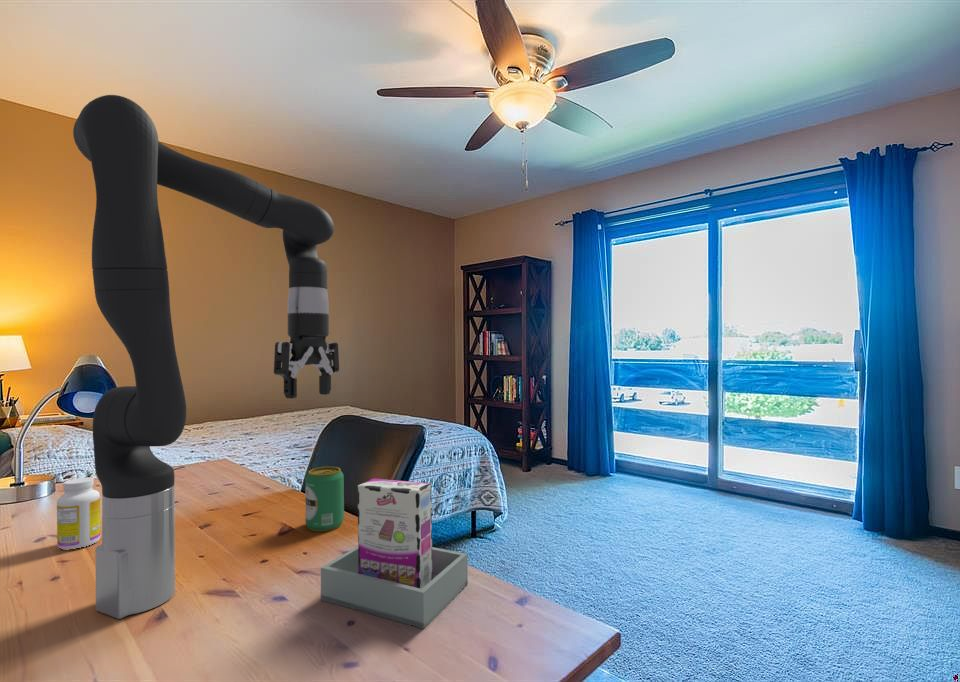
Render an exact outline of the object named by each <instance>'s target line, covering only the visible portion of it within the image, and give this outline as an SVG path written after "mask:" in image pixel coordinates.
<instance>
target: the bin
mask: <svg viewBox="0 0 960 682" xmlns="http://www.w3.org/2000/svg"><path fill="white" fill-rule="evenodd" d="M468 575H469V573H468V553H465V552H461V551H455V550H454V551H453V550H451V549H450V550H449V549H445V548H444V549H443V548H440V547H434V546H432V579H433V580H431V581H430V582H429V583H428V584H427V585H426V586H424V587H423V588H422V589H420V588H416V587H412V586H408V585H403V584H399V583H395V582H391V581H387V580H383V579H379V578H374V577H370V576H366V575H362V574H358V545H357V546H355V547H354V548H351V549H350V550H348V551H346V552H345V553H343V554H342V555H340V556H338V557H337V558H335V559H333V560H331V561H329V562H328V563H327V564H324V565H323V566H321V567H320V600H321V601H322V602H327V603H330V604H334V605H338V606H341V607H345V608H349V609H352V610H356V611H359V612H362V613H366V614H370V615H372V616H377V617H379V618H383V619H384V618H385V619H386V620H391V621H394V622H398V623H401V624H404V623H405V625H408V624H409V625H408V626H411V625H413V626H412V627H415V626H416V628H419V629H423V630H424V629H425V628H426V627H427V626H428V625H429V624H430V623H431V622H433V620H435V618H436V617H437V616H438V615H439V614H440V613H441V612H442V611H443V610H444V609H446V607H447V606H449V604H450V603H451V602H452V601H453V600H454V599H455V598H456V597H457V596H458V595H459V594H460V593H461V592H462V591H463V590H464V589H465V588H466V587H467V586H468V585H467V584H468V582H469V581H468V579H469V578H468ZM466 585H467V586H466ZM465 586H466V587H465ZM464 587H465V588H464ZM463 588H464V589H463ZM462 589H463V590H462ZM461 590H462V591H461ZM460 591H461V592H460ZM459 592H460V593H459Z"/></svg>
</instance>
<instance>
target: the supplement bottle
mask: <svg viewBox="0 0 960 682" xmlns="http://www.w3.org/2000/svg"><path fill="white" fill-rule="evenodd" d="M94 483H95V482H94V478H93V477H78V478H72V479H69V480H68V479H67V480H66V481H64V482H63V483H62V484H63V485H62V489H63V491H64V494H62V495H60V496H59V497H58V499H57V500H56V520H57V521H56V530H57V531H56V534H57V536H56V538H57V539H56V540H57V543H56V544H57V548H58V547H59V548H62V549H73V548H80V549H82V548H81V547H84V548H87V547H90V546H93V545H95V544H96V543H98V542H99V541H100V539H101V495H100V492H99V491H98V490H96V489H94V488H93V486H94V485H95V484H94ZM94 543H95V544H94ZM92 544H93V545H92ZM89 545H90V546H89ZM86 546H87V547H86ZM59 548H58V549H59Z"/></svg>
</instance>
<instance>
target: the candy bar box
mask: <svg viewBox="0 0 960 682" xmlns="http://www.w3.org/2000/svg"><path fill="white" fill-rule="evenodd" d="M432 512H433V510H432V483H431V482H430V483H429V482H420V481H418V482H417V481H408V480H407V481H406V480H396V479H395V480H394V479H385V478H371V479H369V480H367V481H365V482H363V483H361V484H358V485H357V543H358V544H357V546H358V574H362V575H366V576H370V577H374V578H379V579H383V580H387V581H391V582H395V583H399V584H403V585H408V586H412V587H416V588H420V589H422V588H423V587H424V586H426V585H427V584H428V583H429V582H430V581H431V580H433V579H432V547H433V533H432V532H433V531H432V528H433V526H432V525H433V524H432V523H433V521H432V516H433V514H432Z"/></svg>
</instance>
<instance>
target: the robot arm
mask: <svg viewBox="0 0 960 682" xmlns="http://www.w3.org/2000/svg"><path fill="white" fill-rule="evenodd" d="M72 134H73V135H72V136H73V140H74V143H75V146H76V147H77V149H78V150H79V152H80V153H81V154H82V155H83V157H85V158H86V159H87V160H88V161H89V162H91V167H92V168H91V169H92V174H93V178H94V186H95V196H96V198H95V199H96V200H95V201H96V202H95V213H94V214H95V215H94V220H93V230H92V239H91V269H92V278H93V287H94V289H93V290H94V297H95V300H96V304H97V307H98V308H99V310H100V312H101V315H102V316H103V318H104V319H105V320H106V322H107V323H108V325H109V326H110V327H111V329H112V330H113V332H114V334H116V336H117V337H118V339H119V340H120V341H121V343H122V344H123V346H124V347H125V350H126V352H127V353H128V355H129V359H130V360H131V363H132V364H131V365H132V367H133V374H134V378H135V379H134V380H135V381H134V382H135V385H133V386H131V385H130V386H129V385H128V386H126V385H125V386H118V387H113V388H111V389H110V390H107V391H106V392H105V393H104V394H103V395H102V396H101V397H100V399H99V400H98V402H97V404H96V405H95V408H94V412H93V417H92V443H93V444H92V445H93V455H94V469H95V476H96V478H97V480H98V481H99V483H100V486H101V496H102V497H101V505H102V506H101V507H102V508H101V510H102V511H101V512H102V513H101V515H102V516H101V523H102V524H101V526H102V527H101V528H102V529H101V531H102V533H101V534H102V535H101V541H102V542H101V544H99V545H97V546H96V547H95V549H94V550H95V552H94V553H95V558H94V559H95V560H94V561H95V611H97V612H100V613H102V614H105V615H107V616H110V617H112V618H116V619H118V620H119V619H123V618H125V617H127V616H131V615H135V614H136V615H137V614H140V613H143V612H146V611H149V610H151V609H155V608H157V607H159V606H161V605H162V604H164V603H166V602H167V601H169V600H170V599H172V597H173V596H174V595H175V592H176V569H175V568H176V567H175V566H176V563H175V562H176V557H175V556H176V555H175V554H176V553H175V552H176V550H175V549H176V546H175V545H176V544H175V543H176V542H175V541H176V538H175V537H176V535H175V530H176V529H175V526H176V524H175V517H176V516H175V508H176V507H175V504H176V503H175V495H176V494H175V491H176V490H175V471H174V468H173V467H172V466H171V465H170V464H168V463H166V462H164V461H163V460H161V459H159V458H158V457H157V456H155V454H154V453H153V452H152V449H151V447H164V446H169V445H171V444H174V443H175V442H176V441H177V440H178V439H179V438H180V437H181V435H182V433H183V431H184V429H185V426H186V420H187V402H186V397H185V396H186V395H185V392H184V387H183V386H184V384H183V381H182V378H181V377H182V376H181V372H180V367H179V362H178V358H177V352H176V345H175V338H174V330H173V329H174V328H173V322H172V313H171V312H172V311H171V302H170V301H171V300H170V295H171V294H170V281H169V272H168V263H167V258H166V257H167V256H166V249H165V241H164V234H163V227H162V222H161V216H160V211H159V202H158V201H159V199H158V186H161V187H164V188H167V189H170V190H173V191H176V192H179V193H182V194H184V195H186V196H190V197H192V198H194V199H196V200H199V201H202V202H204V203H207V204H209V205H211V206H214V207H215V208H218V209H220V210H223V211H224V212H227V213H229V214H232V215H234V216H236V217H238V218H240V219H242V220H245V221H247V222H250V223H252V224H255V225H256V226H258V227H262V228H265V229H281V230H282V241H283V248H284V251H285V256H286V259H287V262H288V266H289V267H288V295H287V336H288V337H290V341H289V342H288V341H277V342H275V343H274V344H275V345H274V361H273V374H274V375H276V376H280V377H282V378H283V395H284V396H285V398H286V399H296V398H297V397H298V396H297V395H298V394H297V393H298V388H297V387H298V386H297V385H298V381H297V380H298V379H297V378H296V377H297V375H298V373H299V372H300V370H301V369H303V368H304V367H305V365H306V366H308V365H312V366H313V367H314V368H316V369H317V371H318V373H319V375H318V379H319V381H318V384H319V385H318V387H319V389H318V392H319V394H320V395H325V396H326V395H329V394H330V393H331V389H332V375H333V374H334V373H338V372H339V371H340V360H339V359H340V357H339V343H338V342H326V341H327V340H326V339H327V338H326V337H328V336H329V333H330V331H329V329H330V327H329V326H330V325H329V322H330V320H329V317H330V316H329V315H330V314H329V312H330V309H329V305H330V304H329V303H330V302H329V294H328V265H327V264H326V262H325V261H324V260H323V259H321V258H319V256H318V250H317V248H318V247H317V246H318V245H321V244H324V243H326V242H327V241H329V240H330V239H331V237H332V236H333V235H334V232H335V224H334V221H333V218H332V216H330V214H329V213H328V212H327V211H326V210H325V209H323V208H322V207H320V206H318V205H316V204H315V203H313V202H309V201H306V200H303V199H300V198H297V197H294V196H292V195H286V194H283V193H280V192H277V191H275V189H272V188H271V187H268V186H266V185H265V184H263V183H260V182H258V181H257V180H254V179H252V178H250V177H248V176H246V175H243V174H241V173H239V172H237V171H234V170H232V169H231V170H230V169H227V168H224V167H220V166H219V165H218V166H217V165H214V164H211V163H207V162H204V161H201V160H198V159H195V158H192V157H190V156H188V155H185V154H183V153H180V152H179V151H177V150H175V149H173V148H171V147H169V146H167V145H165V144H163V143H162V142H159V135H158V131H157V128H156V125H155V123H154V122H153V120H152V118H151V117H150V115H149V114H148V113H147V111H146V110H144V108H143V107H141V106H140V105H139V104H138V103H136V102H135V101H133V100H132V99H130V98H128V97H125V96H121V95H116V94H106V95H101V96H98V97H96V98H94V99H92V100H91V101H89V102H88V103H87V104H85V106H84V107H83V108H82V109H81V111H80V113H79V115H78V117H77V118H76V121H75V122H74V126H73V130H72Z"/></svg>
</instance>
